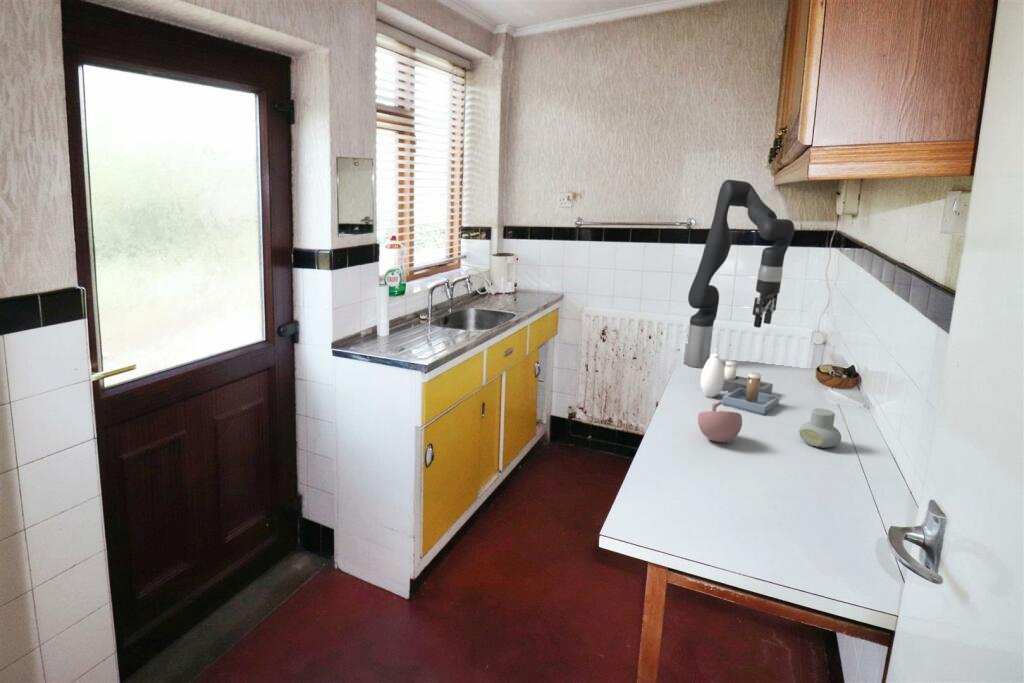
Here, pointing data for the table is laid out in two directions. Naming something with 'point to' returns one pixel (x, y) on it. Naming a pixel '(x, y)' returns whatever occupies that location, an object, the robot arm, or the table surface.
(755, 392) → the cylinder
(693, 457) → the table surface
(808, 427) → the air freshener
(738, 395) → the parts tray
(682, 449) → the table surface
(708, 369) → the sauce bottle
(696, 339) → the robot arm
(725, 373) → the cylinder
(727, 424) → the mortar and pestle
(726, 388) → the block
